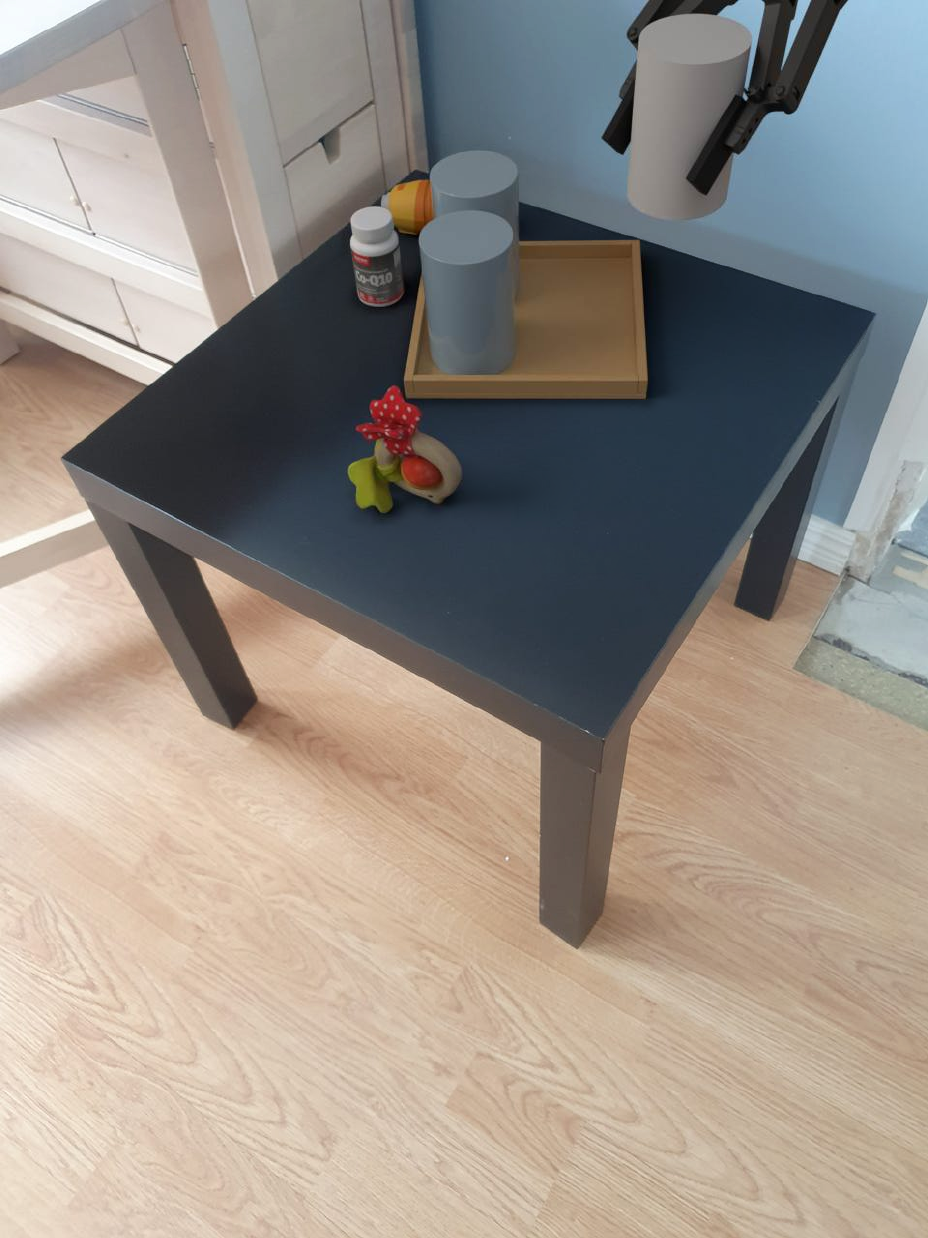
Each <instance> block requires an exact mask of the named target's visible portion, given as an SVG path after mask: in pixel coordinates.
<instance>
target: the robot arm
mask: <svg viewBox="0 0 928 1238" xmlns="http://www.w3.org/2000/svg"><path fill="white" fill-rule="evenodd" d="M761 1H762V3H763V4H764V9H763V13H762V17H761V21H760V28H759V32H758V38H757V42H756V46H755V47H756V48H755V52H754V57H753V62H752V68H751V73H750V77H749V82H748V87H745V88H744V94H745V95H746V97H747V99H745V98H744V96H743V97H741V96H738V95H736V94H735V96H734V98H733V99H732V101H731V103H730V104H729V106H728V107H727V109H726V110H725V112H724V114H723V115H722V117H721V119H720V121H719V122H718V124H717V126H716V127H715V129H714V131H713V132H712V134H711V136H710V138H709V139H708V141H707V143H706V144H705V146H704V148H703V149H702V151H701V153H700V155H699V156H698V158H697V160H696V161H695V163H694V165H693V167H692V168H691V170H690V172H689V173H688V175H687V177H686V179H687V180H688V181H689V182H690V183H691V184H692V185H693V186H694V187H695V189H696V190H697V191H698V192H700V193H702V194H704V195H706V196H707V194H708V193H709V191H710V189H711V188H712V186H713V184H714V183H715V181H716V179H717V177H718V176H719V174H720V172H721V171H722V169H723V167H724V166H725V164H726V162H727V161H728V159H729V157H730V156H731V154H732V152H733V153H734V154H735V155H738V156H739V155H740V154H742V153H743V151H745V150H746V148H747V147H748V145H749V142H750V141H751V140H752V138H753V136H754V135H755V133H756V131H757V129H759V127H760V125H761V123H762V122H763V120H764V119H765V117H766V116H767V115H769V114H771V113H783V114H785V115H789V116H790V115H793V114H795V112H796V111H797V110H799V107H800V105H801V102H802V100H803V97H804V96H805V93H806V90H807V88H808V86H809V83H810V82H811V79H812V77H813V74H814V73H815V70H816V68H817V65H818V63H819V60H820V59H821V56H822V54H823V51H824V49H825V47H826V45H827V42H828V40H829V38H830V35H831V33H832V31H833V28H834V26H835V23H836V21H837V19H838V16H839V14H840V12H841V10H842V9H843V7H845V5H846V4H847V3H848V1H849V0H810V2H809V4H808V6H807V9H806V11H805V13H804V15H803V18H802V21H801V23H800V26H799V28H798V30H797V33H796V35H795V38H794V40H793V42H792V44H791V46H790V49H789V52H788V53H787V56H786V58H785V53H786V47H787V43H788V38H789V34H790V29H791V23H792V21H794V20H795V17H796V13H797V8H798V2H799V0H761ZM738 2H739V0H648V1H647V2H646V4H645V5H644V6H643V7H642V9H641V11H640V12H639V14H638V15H637V16H636V17H635V19H634V20H633V21H632V23H631V25H630V26H629V27H628V28H627V31H626V38H627V40H628V41H629V42H630V43H631V44H632V46H633V47H634V48H635V49H636V51H637V52H638V42H639V35H640V33H641V31H642V30H643V29H644V28H645V27H646V26H648V25H649V24H651V23H653V22H655V21H657V20H660V19H663V18H666V17H670V16H675V15H682V14H709V15H716V16H719V14H720V13H722V11H723V10H724V9H725V8H726V7H729V6H731V7H732V6H734V5H736V4H737V3H738ZM784 58H785V61H784ZM636 68H637V59H635V62H634V63H633V65H632V67H631V69H630V71H629V72H628V75H626V78H625V80H624V82H623V84H622V86H621V87H620V89H619V93H618V97H619V98H620V100H621V101H620V103H619V104H618V107H617V109H615V112H614V114H613V115H612V118H611V119H610V121H609V123H608V125H607V127H606V128H605V130H604V131H603V134H602V135H601V138H600V139H602V141H603V142H605V143H606V144H607V145H608V146H609V147H610V148H611V149H612V150H613V151H614V152H615V153H617V154H619V155H621V156H624V154H625V152H626V151H627V149H628V147H629V145H631V134H632V120H633V107H634V94H635V81H636Z"/></svg>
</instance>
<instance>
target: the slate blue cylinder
mask: <svg viewBox="0 0 928 1238" xmlns="http://www.w3.org/2000/svg"><path fill="white" fill-rule="evenodd" d="M418 246H419V247H418V248H419V258H420V267H421V273H422V277H423V286H424V296H425V305H426V315H427V324H428V334H429V343H430V353H431V359H432V362H433V364H434V365H435V367H436V368H437V369H438V370H439V371H441V372H442V373H444V374H446V375H497V374H499V373H501V372H502V371H504V370H505V369H506V368H507V367H509V366H510V364H511V363H512V362H513V360H514V358H515V355H516V323H515V275H514V233H513V229H512V227H511V226H510V224H509V223H508V222H507V221H506V220H504V219H503V218H501V217H500V216H498V215H495V214H492V213H489V212H484V211H477V210H464V211H456V212H451V213H448V214H445V215H442V216H440V217H437V218H435V219H434V220H432V221H431V222H429V223H428V224H427V225H426V226H425V227H424V228H423V229H422V231H421V233H420V234H419V236H418Z"/></svg>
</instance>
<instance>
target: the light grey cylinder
mask: <svg viewBox="0 0 928 1238" xmlns="http://www.w3.org/2000/svg"><path fill="white" fill-rule="evenodd" d="M752 43H753V35H752V32H751V31H750V30H749V29H748V28H747V27H746V26H745V25H744V24H742V23H740V22H739V21H737V20H734V19H731V18H728V17H725V16H720V15H717V16H716V15H709V14H682V15H675V16H670V17H666V18H663V19H660V20H657V21H655V22H653V23H651V24H649V25H648V26H646V27H645V28H644V29H643V30H642V31H641V33H640V35H639V42H638V51H637V56H636V60H637V68H636V81H635V94H634V107H633V120H632V134H631V142H630V147H629V159H628V161H629V162H628V174H627V189H626V196H627V199H628V202H629V203H630V205H632V207H633V208H634V209H636V210H637V211H639V212H641V213H642V214H644V215H646V216H648V217H652V218H656V219H659V220H664V221H676V222H677V221H678V222H679V221H680V222H681V221H692V220H697V219H702V218H704V217H707V216H709V215H712V214H713V213H715V212H717V211H719V209H721V208H722V207H723V206H724V204H725V203H726V202H727V198H728V193H729V187H730V186H729V185H730V179H731V173H732V167H733V161H734V156H735V155H734V154H735V153H733V152H732V154H731V156H730V157H729V159H728V161H727V162H726V164H725V166H724V167H723V169H722V171H721V172H720V174H719V176H718V177H717V179H716V181H715V183H714V184H713V186H712V188H711V189H710V191H709V193H708V194H707V196H706V195H704V194H702V193H700V192H698V191H697V190H696V189H695V187H694V186H693V185H692V184H691V183H690V182H689V181H688V180H687V179H686V177H687V175H688V173H689V172H690V170H691V168H692V167H693V165H694V163H695V161H696V160H697V158H698V156H699V155H700V153H701V151H702V149H703V148H704V146H705V144H706V143H707V141H708V139H709V138H710V136H711V134H712V132H713V131H714V129H715V127H716V126H717V124H718V122H719V121H720V119H721V117H722V115H723V114H724V112H725V110H726V109H727V107H728V106H729V104H730V103H731V101H732V99H733V98H734V96H735V94H736V95H738V96H741V97H743V98H744V94H745V93H744V88H746V80H747V75H748V68H749V63H750V56H751V50H752Z"/></svg>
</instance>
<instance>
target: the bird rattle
mask: <svg viewBox="0 0 928 1238" xmlns="http://www.w3.org/2000/svg"><path fill="white" fill-rule="evenodd" d="M369 410H370V414H371V416H372V417H371V418H373V420H374V422H375V423H372V422H365V423H363V424H359V425H357V426H356V427H355V430H356V432H358V433H360V434H361V433H362V436H363V437H364V439H365V440H367V441H369V442H374V441H376V443H375V445H374V453H373V455H372V456H371V457H365V458H362V459H359V460H356V461H353V462H351V464H349V466H348V468H347V475H348V478H349V480H350V482H351V483H352V484H354V485H355V487H356V488H355V502H356V505H357V506H358V507H359V508H360V509H362V510H365V509H367V508H369V507H371V506H375V507H376V508H377V510H378V511H379V512H380V513H381V514H387V513H388V512H389V511H390V510H391V509H392V508H393V506H394V503H393V499H392V495H391V491H390V485H389V484H390V483H394V484H395V485H397V486H398V487H400V488H401V489H403V490H404V491H407V492H408V493H410V494H412V495H415V496H418V497H420V498H423V499H427V500H429V501H431V502H432V503H434V504H436V505H440V504H442V503H443V502H444V500H445V499H446V498H448V497H450V496H452V494H453V493H454V492H455V491H456V490H457V489H458V487H459V485H460V483H461V482H462V481H461V480H462V477H463V469H462V466H461V464H460V461H459V460H458V458H457V456H456V455H455V453H454V452H452V451H451V449H449V448H448V447H447V446H446V445H445V444H443V442H441V441H439V440H437V439H436V438H434V437H433V436H430V435H428V434H426V433H424V432H422V431H421V430H420V429H418V426H419V424H420V422H421V420H422V418H423V413H422V412H421V410H420V409H419V408H418V407H417V406H416V405H414V404H411V403H409V402H406V401H405V399H404V396H403V393H402V390H401V389H400V387H399V386H398V385H395V384H394V385H392V386H390V387H389V388H388V389H387V391H386V392H385V394H384V395H383V397H382V399H373V400H372V401H371V402H370V404H369Z"/></svg>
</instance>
